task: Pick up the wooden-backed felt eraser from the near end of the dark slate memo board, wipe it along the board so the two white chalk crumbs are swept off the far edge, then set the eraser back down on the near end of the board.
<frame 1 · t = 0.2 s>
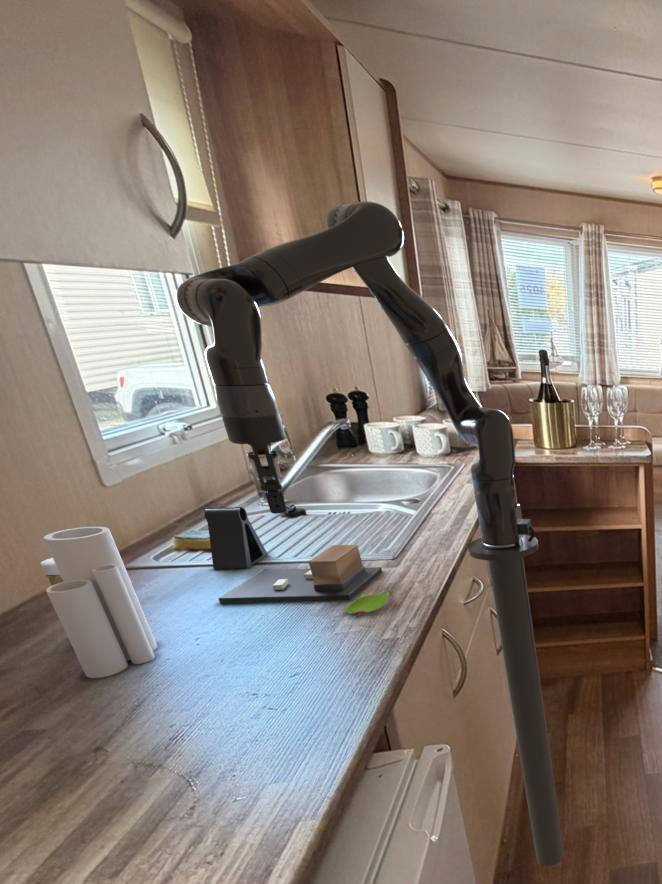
hand: (278, 506, 112), 19 cm above the counter, tool pointing down, fingers open, 8 cm apart
sprinkles bottle: (95, 635, 106), on the counter
eraser: (341, 580, 128), point 1 cm above the counter, touching memo board
phone stand: (241, 562, 138), on the counter
vase: (126, 659, 100), on the counter
chalk stroke 2: (281, 586, 124), point 1 cm above the counter, touching memo board
memo board: (306, 587, 127), on the counter
chalk stroke 1: (313, 576, 130), point 1 cm above the counter, touching memo board
decorative leaf: (369, 606, 121), on the counter
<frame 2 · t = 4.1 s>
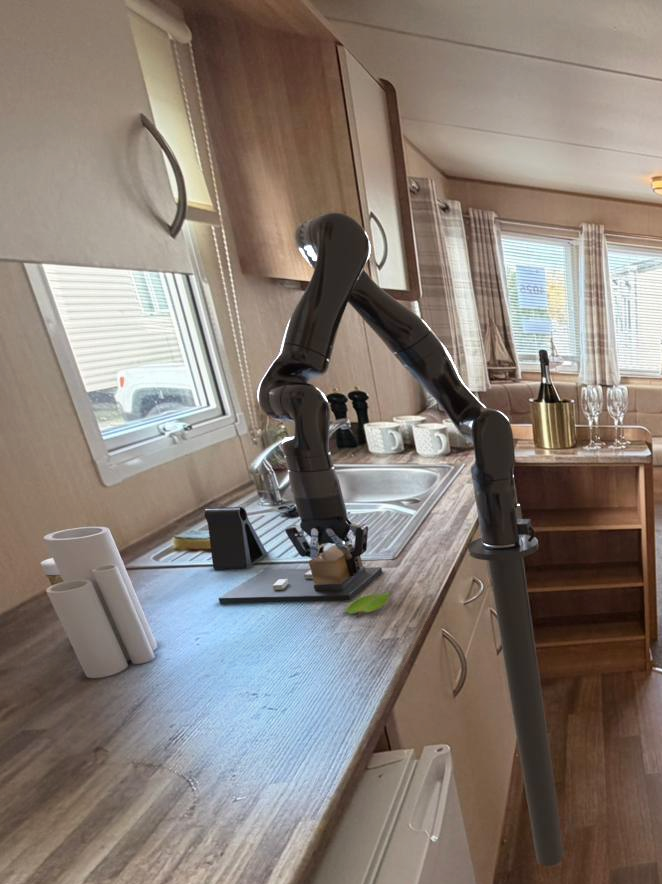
hand: (339, 574, 128), 3 cm above the counter, tool pointing down, fingers closed on eraser, 4 cm apart
eraser: (341, 580, 128), point 1 cm above the counter, touching gripper, memo board
everything else where it was.
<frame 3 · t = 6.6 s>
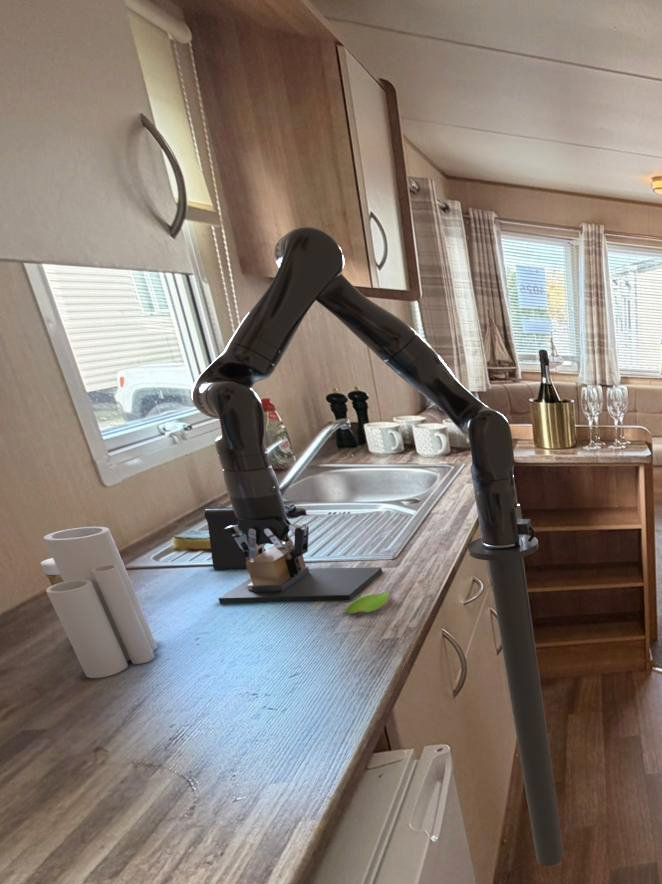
hand: (280, 575, 126), 3 cm above the counter, tool pointing down, fingers closed on eraser, 4 cm apart
eraser: (282, 581, 126), point 1 cm above the counter, touching chalk stroke 2, gripper
chalk stroke 2: (257, 587, 124), point 1 cm above the counter, touching eraser
chalk stroke 1: (272, 576, 128), point 1 cm above the counter, touching memo board
everything else where it was.
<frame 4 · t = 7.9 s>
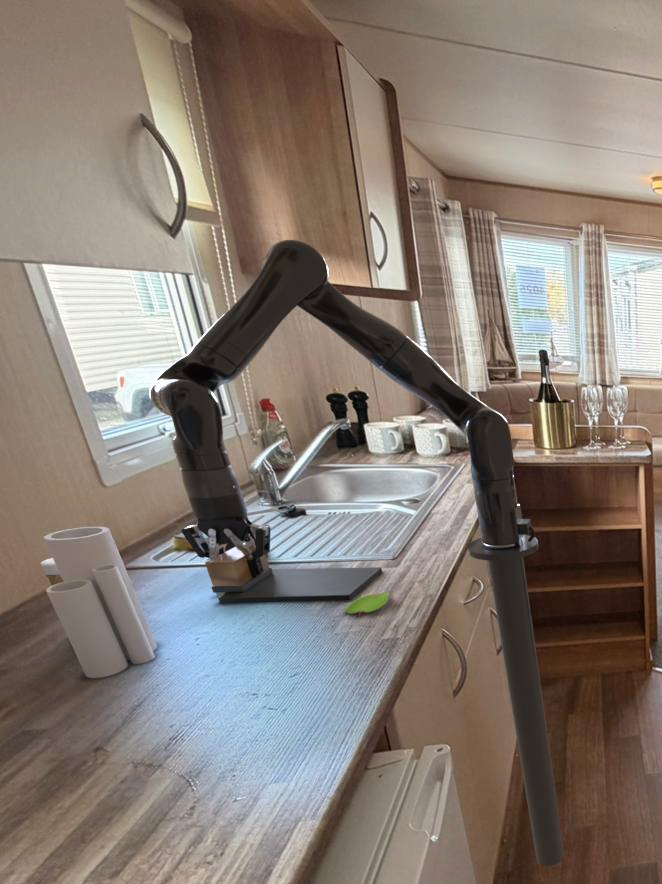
hand: (242, 576, 124), 3 cm above the counter, tool pointing down, fingers closed on eraser, 4 cm apart
eraser: (244, 582, 125), point 1 cm above the counter, touching gripper
chalk stroke 2: (225, 588, 123), point 1 cm above the counter, tilted 180°
chalk stroke 1: (236, 578, 127), point 1 cm above the counter, tilted 180°
everything else where it was.
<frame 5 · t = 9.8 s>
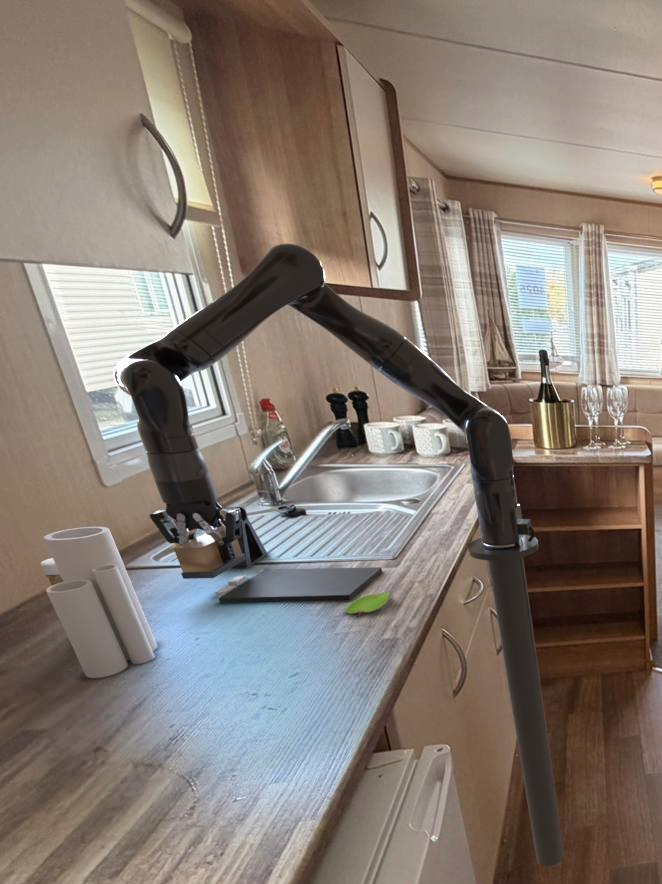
hand: (213, 562, 123), 6 cm above the counter, tool pointing down, fingers closed on eraser, 4 cm apart
eraser: (215, 568, 123), point 4 cm above the counter, touching gripper
everything else where it was.
when the fingers open (3 cm above the counter, at t = 15.6 s): eraser stays where it is, resting on memo board.
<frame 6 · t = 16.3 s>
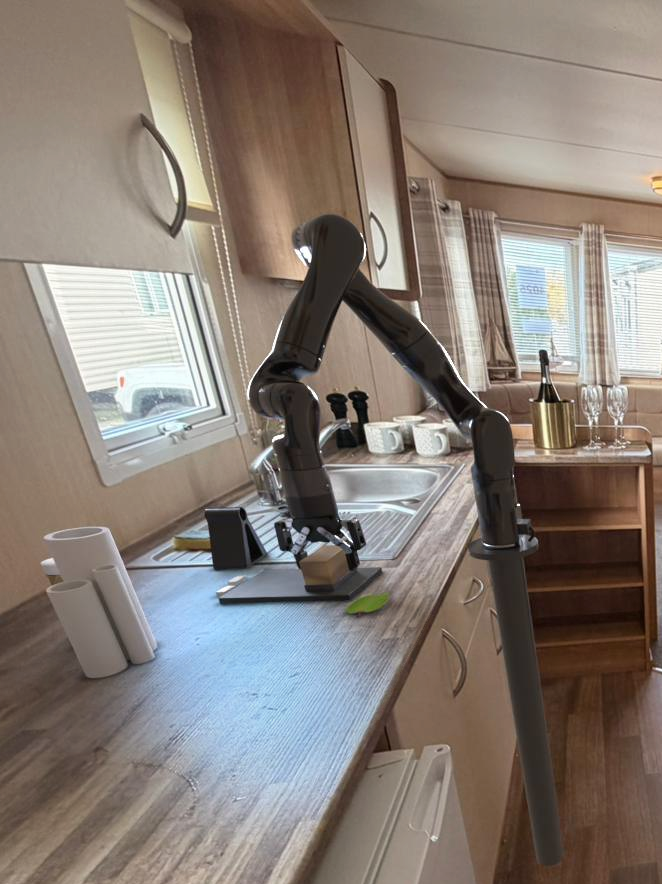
hand: (330, 569, 127), 4 cm above the counter, tool pointing down, fingers open, 8 cm apart
eraser: (332, 581, 128), point 1 cm above the counter, touching memo board
everything else where it was.
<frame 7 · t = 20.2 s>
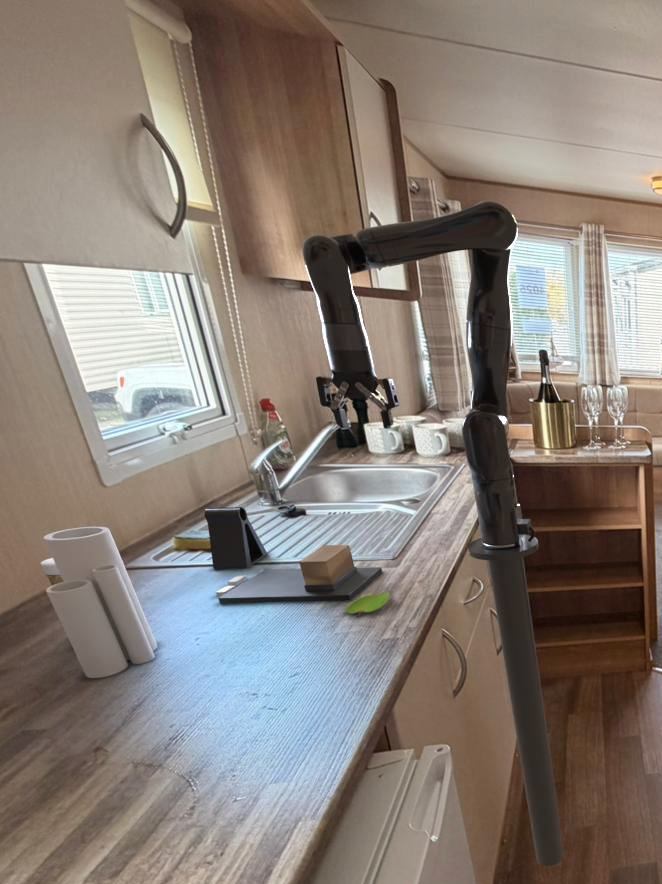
hand: (366, 427, 137), 28 cm above the counter, tool pointing down, fingers open, 8 cm apart
nothing on the counter moved.
at the end: chalk stroke 1 inside the target area (8.6 cm from its centre), point 1.0 cm above the counter; chalk stroke 2 inside the target area (9.1 cm from its centre), point 1.0 cm above the counter; eraser inside the target area on the memo board (0.1 cm from its centre), point 1.2 cm above the memo board's base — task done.
